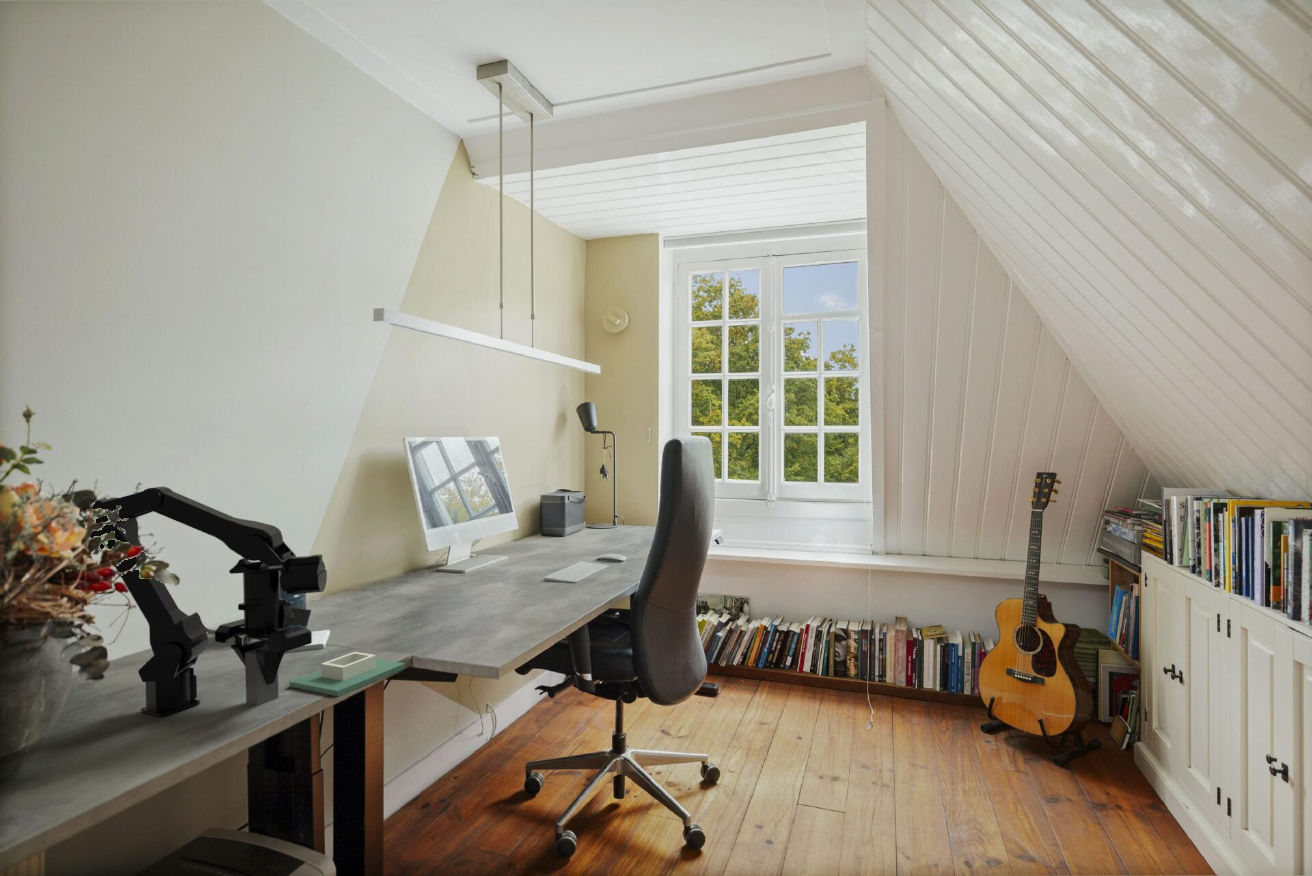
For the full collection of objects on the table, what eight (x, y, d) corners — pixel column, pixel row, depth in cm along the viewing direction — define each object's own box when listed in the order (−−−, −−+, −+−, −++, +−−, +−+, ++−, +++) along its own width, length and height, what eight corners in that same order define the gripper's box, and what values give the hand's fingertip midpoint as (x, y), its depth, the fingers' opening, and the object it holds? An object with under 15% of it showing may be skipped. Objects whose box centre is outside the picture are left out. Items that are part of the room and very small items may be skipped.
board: (337, 696, 122) (337, 677, 122) (289, 686, 128) (289, 668, 128) (405, 668, 137) (404, 651, 137) (359, 660, 142) (358, 644, 142)
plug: (257, 705, 119) (256, 654, 119) (246, 703, 120) (244, 652, 120) (282, 695, 123) (281, 646, 123) (271, 693, 124) (270, 644, 124)
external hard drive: (283, 655, 149) (292, 640, 161) (324, 650, 152) (330, 635, 163) (282, 648, 149) (292, 633, 161) (324, 643, 152) (330, 628, 163)
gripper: (336, 590, 125) (338, 674, 125) (270, 583, 133) (271, 662, 133) (280, 604, 115) (283, 696, 115) (212, 595, 123) (214, 681, 123)
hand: (264, 682), depth 121 cm, fingers closed on plug, 3 cm apart
